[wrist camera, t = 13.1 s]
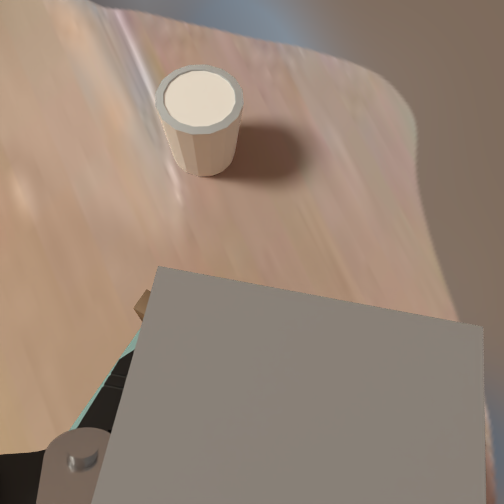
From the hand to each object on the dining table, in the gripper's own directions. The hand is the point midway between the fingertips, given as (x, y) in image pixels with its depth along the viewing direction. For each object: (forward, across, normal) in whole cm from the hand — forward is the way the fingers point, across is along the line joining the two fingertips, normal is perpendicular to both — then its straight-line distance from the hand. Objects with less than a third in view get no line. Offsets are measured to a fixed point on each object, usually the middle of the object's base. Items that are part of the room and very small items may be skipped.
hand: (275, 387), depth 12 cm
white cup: (+33, +8, 0) cm, 34 cm away
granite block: (+2, 0, +4) cm, 5 cm away
